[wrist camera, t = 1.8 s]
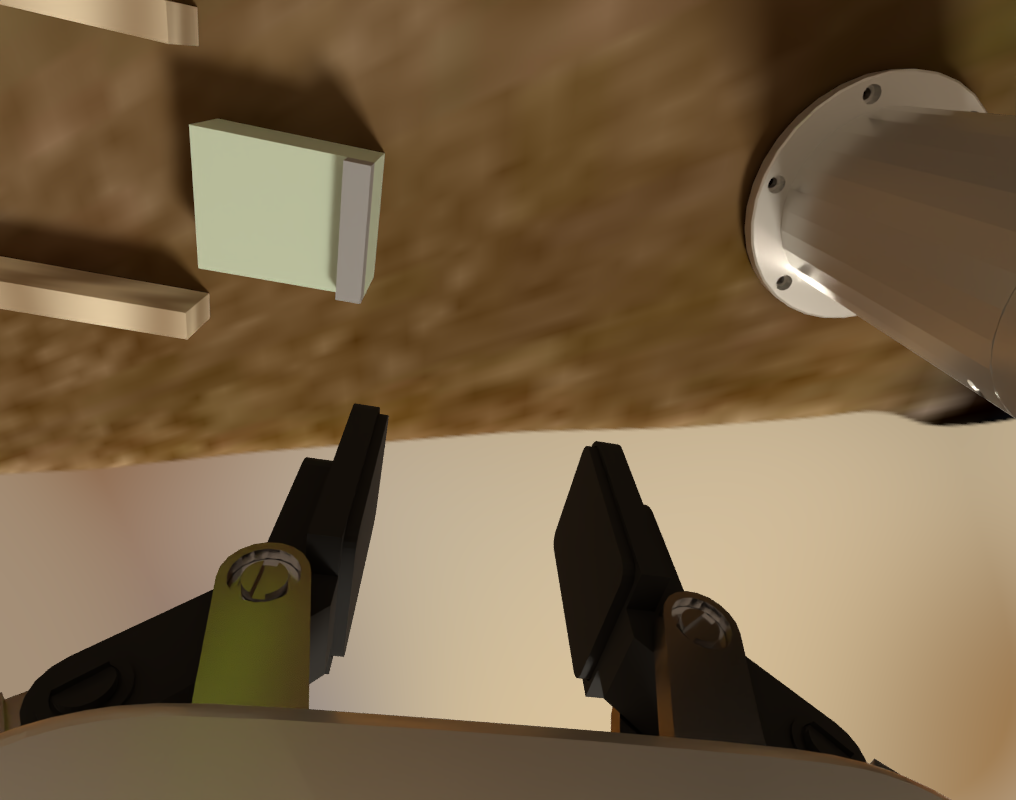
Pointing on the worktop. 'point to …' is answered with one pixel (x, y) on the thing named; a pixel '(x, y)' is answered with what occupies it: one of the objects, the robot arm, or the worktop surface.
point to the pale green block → (285, 207)
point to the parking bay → (91, 296)
